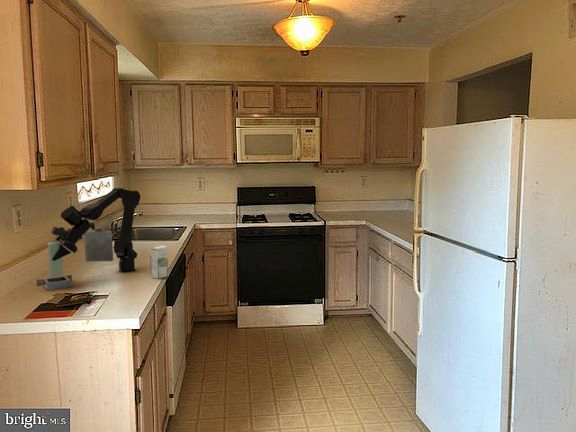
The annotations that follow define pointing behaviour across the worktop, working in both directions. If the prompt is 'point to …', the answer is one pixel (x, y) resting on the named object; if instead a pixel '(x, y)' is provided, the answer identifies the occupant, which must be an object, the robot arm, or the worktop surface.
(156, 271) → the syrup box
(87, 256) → the flask
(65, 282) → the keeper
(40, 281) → the brown wooden bar
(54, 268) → the bar
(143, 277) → the worktop surface
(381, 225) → the worktop surface
